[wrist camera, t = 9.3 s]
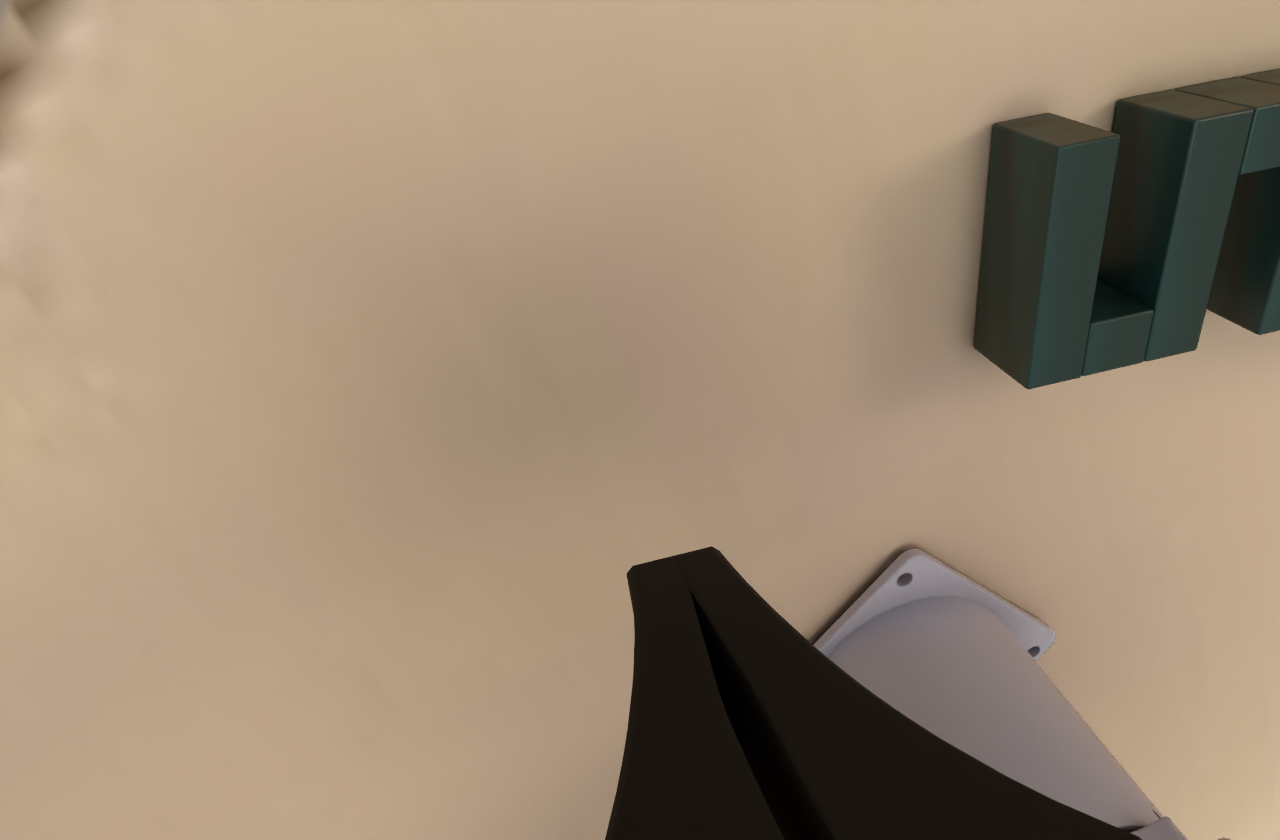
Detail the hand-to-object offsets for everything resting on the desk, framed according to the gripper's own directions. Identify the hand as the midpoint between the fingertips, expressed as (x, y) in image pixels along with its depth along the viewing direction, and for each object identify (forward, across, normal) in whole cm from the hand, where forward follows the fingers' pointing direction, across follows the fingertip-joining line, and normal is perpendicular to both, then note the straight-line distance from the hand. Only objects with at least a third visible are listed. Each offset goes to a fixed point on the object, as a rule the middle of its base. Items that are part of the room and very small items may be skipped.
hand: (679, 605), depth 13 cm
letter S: (+9, -14, 0) cm, 17 cm away
